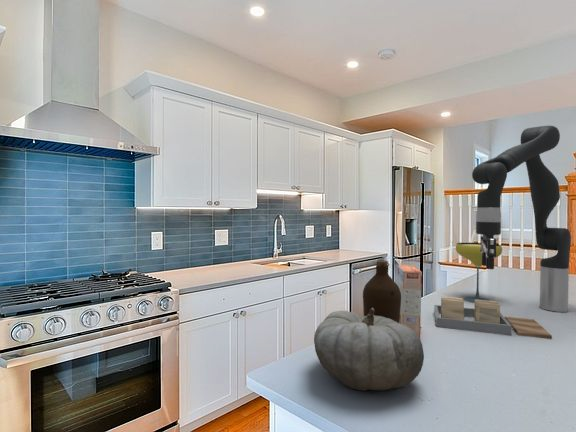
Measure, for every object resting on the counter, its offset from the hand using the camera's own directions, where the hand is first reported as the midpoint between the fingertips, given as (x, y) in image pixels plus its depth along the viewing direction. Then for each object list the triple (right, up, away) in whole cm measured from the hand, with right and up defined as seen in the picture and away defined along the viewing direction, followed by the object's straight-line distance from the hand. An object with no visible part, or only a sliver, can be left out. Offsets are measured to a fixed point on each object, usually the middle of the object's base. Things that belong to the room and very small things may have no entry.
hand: (487, 267), depth 120 cm
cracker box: (-30, -20, -7) cm, 37 cm away
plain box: (-10, -20, +4) cm, 23 cm away
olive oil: (-43, -20, -21) cm, 52 cm away
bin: (-5, -20, +2) cm, 21 cm away
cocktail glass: (+15, -20, +34) cm, 42 cm away
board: (+11, -20, -3) cm, 23 cm away
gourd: (-52, -20, -39) cm, 68 cm away
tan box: (0, -20, 0) cm, 20 cm away
